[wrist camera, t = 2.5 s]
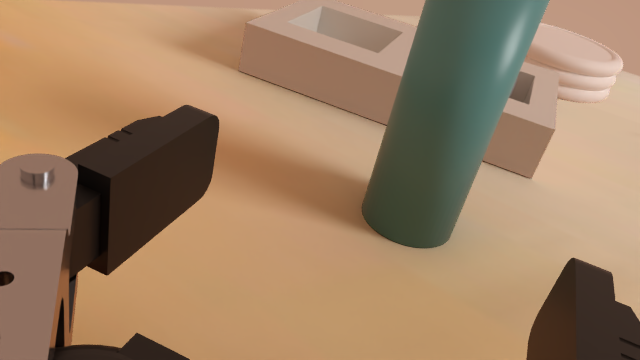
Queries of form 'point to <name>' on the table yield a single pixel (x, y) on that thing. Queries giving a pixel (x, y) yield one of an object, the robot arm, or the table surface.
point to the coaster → (575, 63)
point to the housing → (383, 72)
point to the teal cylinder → (446, 114)
